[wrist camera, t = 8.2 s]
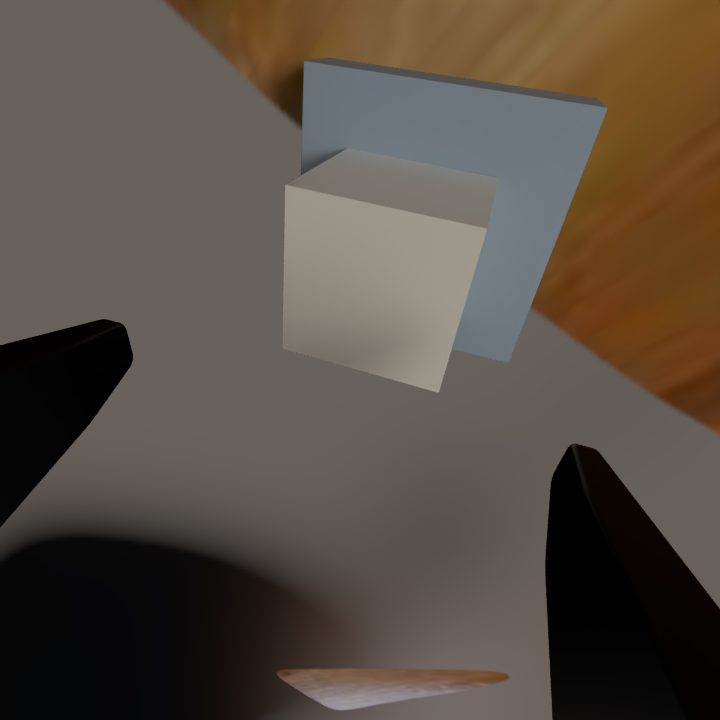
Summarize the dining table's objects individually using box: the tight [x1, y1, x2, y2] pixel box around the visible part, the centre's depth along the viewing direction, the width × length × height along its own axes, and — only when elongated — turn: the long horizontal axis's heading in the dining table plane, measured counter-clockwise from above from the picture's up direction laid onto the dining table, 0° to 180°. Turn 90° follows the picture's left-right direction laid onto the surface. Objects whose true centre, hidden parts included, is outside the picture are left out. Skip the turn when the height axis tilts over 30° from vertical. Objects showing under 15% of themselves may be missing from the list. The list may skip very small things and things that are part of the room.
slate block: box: [301, 58, 608, 363], centre depth 17 cm, size 9×9×3 cm
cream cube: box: [282, 148, 498, 392], centre depth 14 cm, size 5×5×5 cm
